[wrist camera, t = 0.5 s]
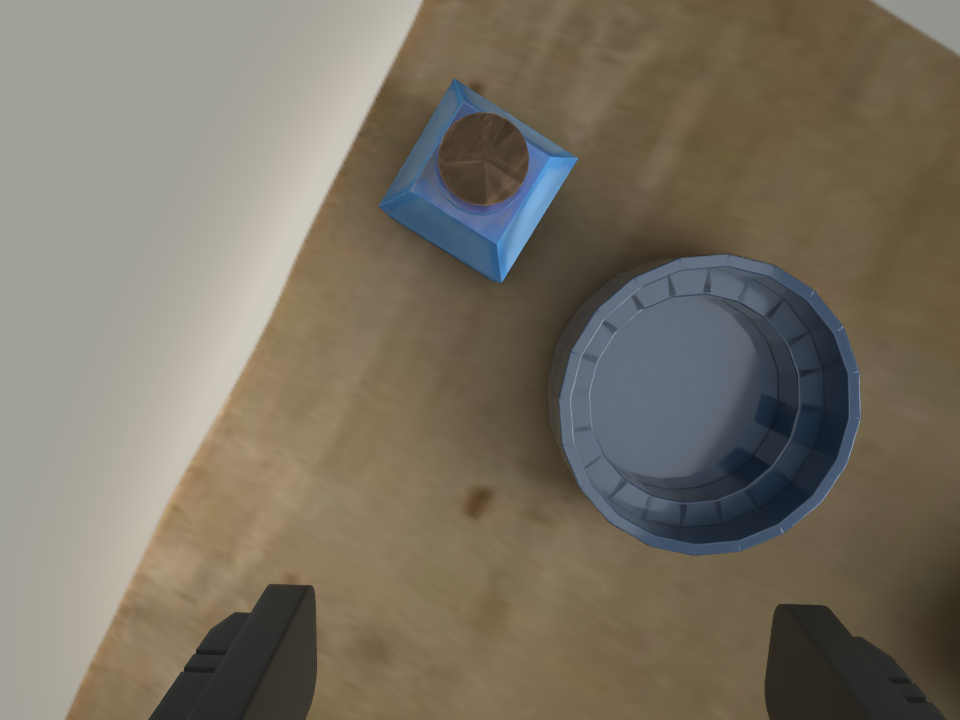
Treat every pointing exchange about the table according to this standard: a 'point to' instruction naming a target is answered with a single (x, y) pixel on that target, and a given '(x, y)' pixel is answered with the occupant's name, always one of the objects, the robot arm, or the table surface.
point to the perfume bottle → (477, 182)
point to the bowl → (704, 402)
